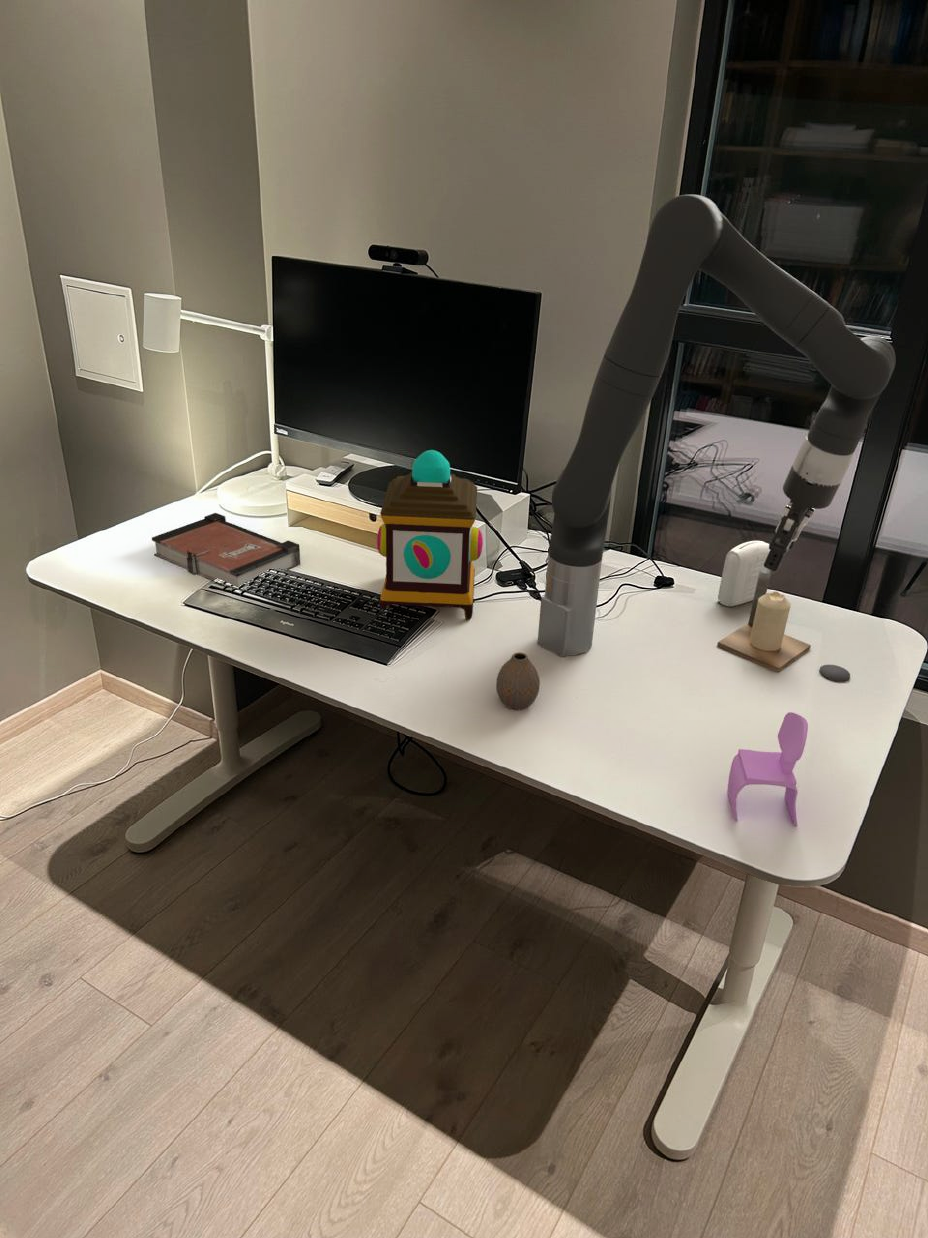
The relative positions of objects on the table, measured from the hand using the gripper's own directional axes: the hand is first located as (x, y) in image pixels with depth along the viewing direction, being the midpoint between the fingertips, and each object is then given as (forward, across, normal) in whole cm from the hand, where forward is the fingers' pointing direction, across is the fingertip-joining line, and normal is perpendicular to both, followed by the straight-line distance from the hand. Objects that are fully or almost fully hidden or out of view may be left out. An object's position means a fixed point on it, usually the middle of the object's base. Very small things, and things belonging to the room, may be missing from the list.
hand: (777, 557), depth 145 cm
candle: (+22, -7, +4) cm, 23 cm away
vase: (+24, +34, -24) cm, 49 cm away
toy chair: (+16, +37, +15) cm, 43 cm away
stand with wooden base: (+22, -9, +4) cm, 25 cm away
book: (+41, +23, -98) cm, 109 cm away
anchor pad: (+20, -6, +16) cm, 26 cm away
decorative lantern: (+33, +12, -55) cm, 65 cm away
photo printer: (+26, -24, -5) cm, 36 cm away
